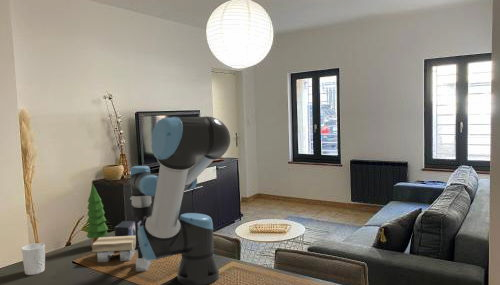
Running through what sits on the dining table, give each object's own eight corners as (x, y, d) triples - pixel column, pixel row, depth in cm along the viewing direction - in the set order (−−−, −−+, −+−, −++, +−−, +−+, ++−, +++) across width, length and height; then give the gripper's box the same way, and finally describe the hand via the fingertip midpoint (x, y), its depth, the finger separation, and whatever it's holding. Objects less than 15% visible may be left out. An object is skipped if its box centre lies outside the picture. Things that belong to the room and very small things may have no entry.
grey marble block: (146, 270, 145) (146, 260, 145) (136, 271, 145) (135, 261, 145) (151, 261, 155) (151, 251, 155) (141, 261, 155) (141, 252, 155)
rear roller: (130, 260, 156) (129, 251, 156) (120, 260, 156) (119, 251, 156) (135, 251, 166) (134, 243, 166) (125, 252, 166) (125, 243, 166)
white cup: (18, 274, 145) (16, 248, 144) (36, 266, 152) (34, 242, 152) (33, 276, 142) (31, 250, 142) (51, 268, 150) (49, 244, 149)
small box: (129, 249, 169) (128, 226, 169) (114, 250, 170) (113, 227, 169) (136, 242, 180) (135, 220, 179) (123, 242, 180) (122, 220, 179)
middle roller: (107, 261, 156) (107, 252, 155) (97, 262, 155) (97, 252, 155) (114, 253, 166) (113, 244, 165) (104, 253, 165) (104, 244, 165)
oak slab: (132, 249, 156) (131, 242, 156) (92, 252, 155) (91, 244, 155) (137, 242, 166) (136, 235, 166) (99, 244, 165) (99, 237, 165)
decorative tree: (83, 249, 171) (79, 184, 169) (92, 242, 180) (89, 180, 178) (104, 249, 171) (101, 183, 169) (112, 242, 180) (109, 180, 178)
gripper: (137, 199, 159) (139, 251, 161) (125, 212, 137) (127, 272, 138) (155, 198, 160) (157, 250, 162) (146, 211, 138) (148, 271, 139)
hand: (143, 260), depth 150 cm, fingers closed on grey marble block, 10 cm apart
